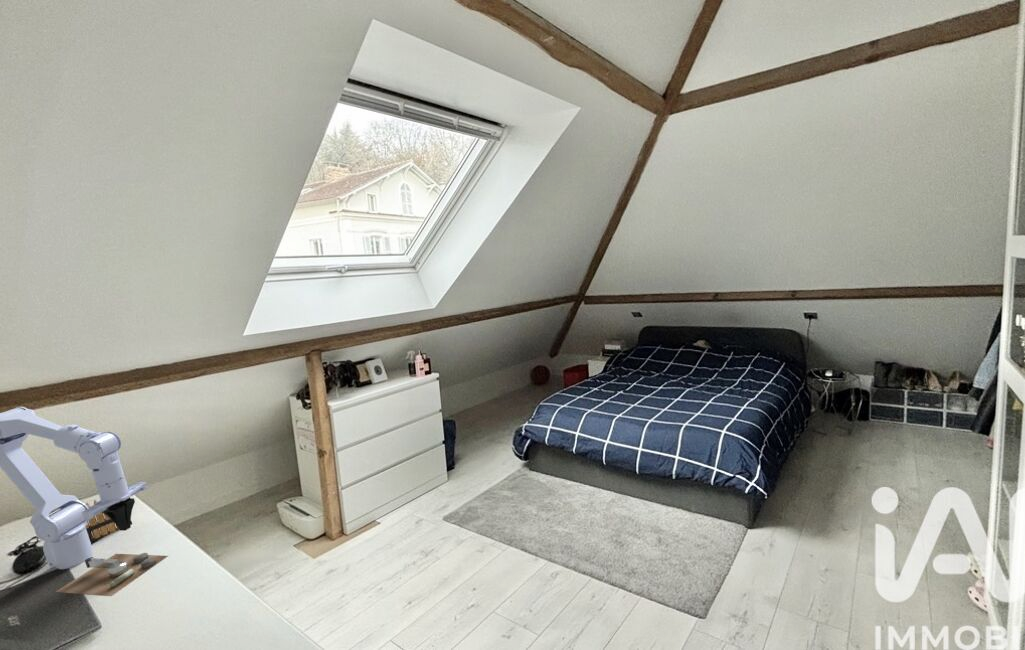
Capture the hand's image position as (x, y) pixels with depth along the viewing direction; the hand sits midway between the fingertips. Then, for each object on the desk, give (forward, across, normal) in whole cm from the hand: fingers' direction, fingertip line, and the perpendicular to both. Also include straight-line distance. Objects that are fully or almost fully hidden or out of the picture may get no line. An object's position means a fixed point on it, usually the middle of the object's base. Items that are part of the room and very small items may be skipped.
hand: (125, 529), depth 125 cm
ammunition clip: (+9, +9, +21) cm, 25 cm away
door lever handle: (+7, -7, -1) cm, 10 cm away
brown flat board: (+8, -7, -3) cm, 11 cm away
